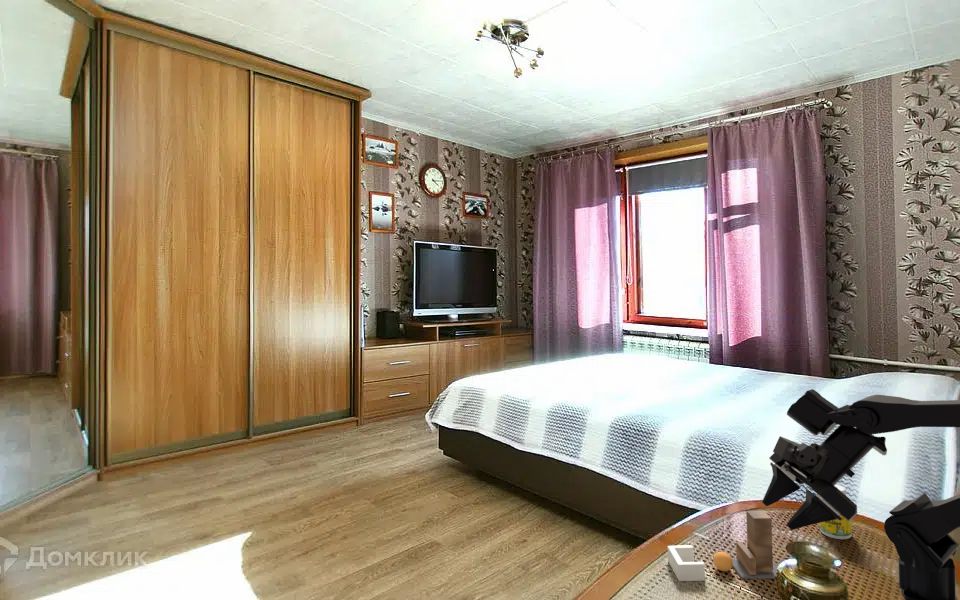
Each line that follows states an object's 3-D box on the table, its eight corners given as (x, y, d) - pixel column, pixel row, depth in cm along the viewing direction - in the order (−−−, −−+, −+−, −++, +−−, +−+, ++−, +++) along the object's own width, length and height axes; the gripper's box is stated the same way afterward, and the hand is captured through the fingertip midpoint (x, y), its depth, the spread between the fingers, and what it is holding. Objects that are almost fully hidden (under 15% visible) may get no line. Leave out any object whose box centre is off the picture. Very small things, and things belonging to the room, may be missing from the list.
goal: (692, 560, 97) (691, 545, 97) (705, 580, 91) (704, 564, 90) (668, 561, 97) (667, 545, 97) (679, 581, 91) (678, 564, 91)
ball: (734, 568, 94) (733, 551, 94) (730, 577, 91) (730, 559, 91) (715, 563, 96) (715, 546, 96) (711, 571, 93) (711, 554, 93)
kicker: (761, 557, 96) (759, 507, 95) (776, 574, 90) (775, 521, 90) (736, 557, 96) (734, 507, 96) (750, 574, 90) (748, 522, 90)
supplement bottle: (856, 534, 103) (855, 487, 103) (845, 543, 100) (844, 495, 100) (826, 524, 108) (824, 479, 107) (814, 532, 105) (813, 486, 104)
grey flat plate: (769, 560, 96) (769, 558, 96) (785, 578, 90) (785, 575, 90) (728, 561, 96) (728, 559, 96) (741, 578, 91) (741, 576, 91)
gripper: (778, 410, 101) (722, 466, 102) (835, 439, 83) (766, 507, 84) (821, 448, 101) (765, 504, 102) (888, 486, 82) (818, 554, 83)
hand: (776, 515), depth 93 cm, fingers open, 9 cm apart
